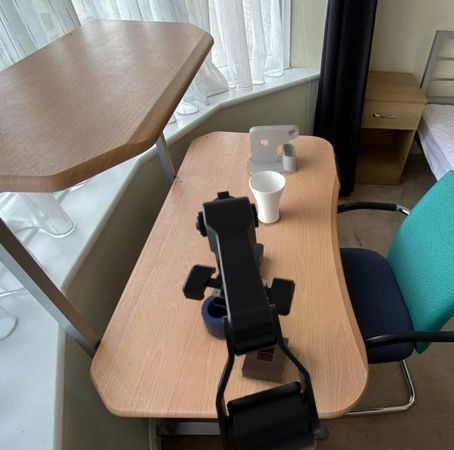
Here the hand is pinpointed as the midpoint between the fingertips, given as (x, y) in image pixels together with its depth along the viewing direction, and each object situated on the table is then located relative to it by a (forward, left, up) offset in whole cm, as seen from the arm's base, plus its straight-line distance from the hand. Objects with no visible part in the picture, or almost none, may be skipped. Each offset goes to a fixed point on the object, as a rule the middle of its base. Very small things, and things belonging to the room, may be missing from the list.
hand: (244, 313), depth 62 cm
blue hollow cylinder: (+4, +7, -13) cm, 16 cm away
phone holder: (+68, +10, -14) cm, 70 cm away
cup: (+41, +5, -14) cm, 43 cm away
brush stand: (-3, -5, -13) cm, 14 cm away
